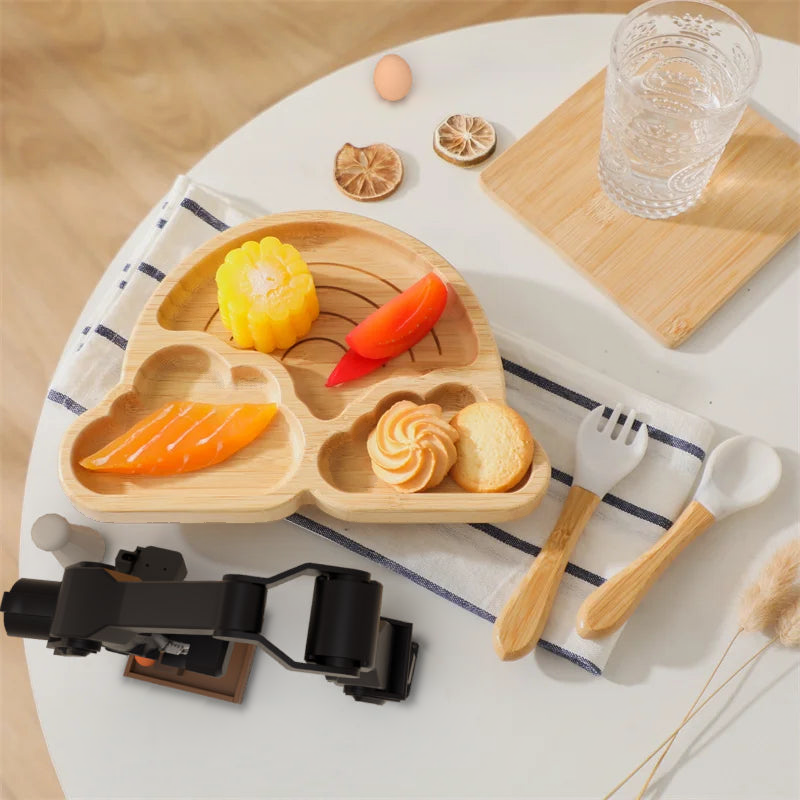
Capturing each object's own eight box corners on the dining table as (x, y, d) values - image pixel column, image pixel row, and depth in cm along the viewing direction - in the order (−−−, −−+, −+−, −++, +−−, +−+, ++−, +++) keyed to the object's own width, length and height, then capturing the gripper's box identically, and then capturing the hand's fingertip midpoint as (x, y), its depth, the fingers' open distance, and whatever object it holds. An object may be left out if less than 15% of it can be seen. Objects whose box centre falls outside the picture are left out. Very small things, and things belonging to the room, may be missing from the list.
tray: (264, 618, 111) (261, 616, 109) (241, 704, 107) (237, 703, 105) (154, 593, 112) (149, 590, 111) (128, 677, 109) (122, 675, 107)
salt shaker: (102, 581, 113) (61, 560, 101) (59, 572, 114) (13, 550, 102) (116, 535, 115) (78, 510, 103) (74, 527, 116) (31, 500, 104)
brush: (200, 616, 110) (183, 606, 103) (182, 676, 108) (163, 671, 101) (176, 610, 111) (158, 601, 104) (158, 670, 108) (138, 665, 101)
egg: (403, 74, 140) (401, 38, 133) (418, 101, 138) (417, 66, 131) (369, 87, 139) (365, 51, 132) (384, 115, 137) (381, 80, 130)
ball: (134, 636, 107) (146, 640, 110) (126, 661, 106) (138, 665, 109) (156, 641, 107) (168, 644, 109) (148, 666, 106) (160, 670, 108)
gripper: (236, 562, 93) (266, 588, 108) (67, 525, 96) (119, 556, 110) (204, 673, 89) (239, 684, 104) (29, 631, 92) (87, 648, 106)
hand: (171, 639), depth 106 cm, fingers closed on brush, 2 cm apart
